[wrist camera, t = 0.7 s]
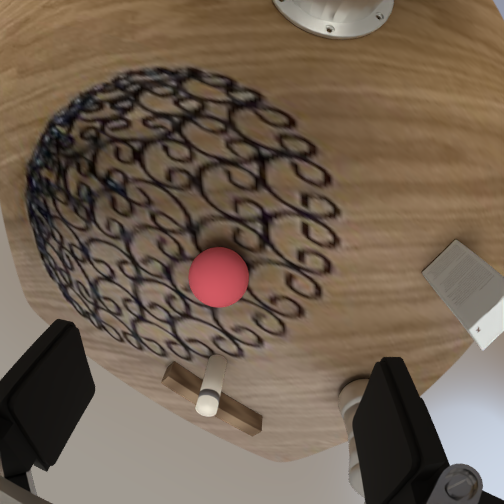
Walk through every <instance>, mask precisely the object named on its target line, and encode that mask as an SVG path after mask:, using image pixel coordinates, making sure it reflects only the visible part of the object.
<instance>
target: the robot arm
mask: <svg viewBox="0 0 504 504" xmlns="http://www.w3.org/2000/svg"><path fill="white" fill-rule="evenodd" d="M272 1H273V3H274V4H275V6H276V7H277V9H278V10H279V11H280V13H281V14H282V15H283V16H284V17H285V18H286V19H287V20H289V21H290V22H291V23H293V24H294V25H295V26H297V27H299V28H301V29H303V30H305V31H306V32H309V33H312V34H314V35H317V36H320V37H325V38H330V39H341V40H345V39H355V38H359V37H363V36H366V35H368V34H370V33H372V32H374V31H375V30H377V29H378V28H379V27H381V26H382V25H383V24H384V23H385V22H386V21H387V19H388V17H389V16H390V14H391V12H392V9H393V5H394V0H284V2H280V1H279V0H272ZM376 17H378V18H379V19H377V18H376ZM327 29H329V30H331V33H329V32H327ZM94 393H95V384H94V381H93V378H92V375H91V372H90V368H89V365H88V362H87V358H86V355H85V351H84V347H83V344H82V340H81V336H80V332H79V329H78V328H76V326H75V324H74V323H73V322H70V321H66V320H61V319H57V320H55V321H54V322H53V323H52V324H51V325H50V327H49V328H48V329H47V330H46V331H45V332H44V333H43V334H42V335H41V336H40V337H39V338H38V339H37V340H36V341H35V342H34V343H33V345H32V346H31V347H30V348H29V349H28V350H27V351H26V352H25V353H24V355H22V357H21V358H20V359H19V360H18V361H17V362H16V363H15V364H14V365H13V367H12V368H11V369H10V370H9V371H8V373H6V375H5V376H4V377H3V378H2V379H1V381H0V504H52V503H50V502H48V501H46V500H44V499H42V498H40V497H38V496H37V493H36V489H35V486H34V481H33V478H32V474H31V467H32V465H33V464H34V466H36V467H38V468H40V469H42V470H44V471H48V469H49V467H50V466H53V465H54V464H55V463H56V461H57V459H58V457H59V456H60V454H61V452H62V450H63V448H64V447H65V445H66V443H67V441H68V439H69V438H70V436H71V434H72V432H73V430H74V429H75V427H76V425H77V423H78V422H79V420H80V418H81V416H82V414H83V413H84V411H85V409H86V408H87V406H88V404H89V403H90V401H91V399H92V397H93V396H94ZM352 429H353V434H354V439H355V444H356V450H357V455H358V460H359V466H360V472H361V478H362V484H363V490H364V496H365V503H366V504H504V500H502V499H500V498H498V497H495V496H493V495H491V494H489V493H487V492H485V491H483V490H482V488H483V484H482V479H481V477H480V475H479V473H478V472H477V471H476V470H475V469H474V468H472V467H470V466H469V465H465V464H454V465H451V466H450V465H449V462H448V460H447V457H446V454H445V452H444V449H443V447H442V444H441V441H440V439H439V436H438V434H437V432H436V429H435V426H434V424H433V422H432V420H431V417H430V414H429V412H428V410H427V407H426V405H425V403H424V401H423V399H422V398H420V396H419V394H418V392H417V390H416V387H415V385H414V383H413V381H412V378H411V376H410V374H409V372H408V370H407V367H406V365H405V363H404V361H403V359H402V358H401V357H383V358H382V359H381V361H380V362H376V364H375V366H374V368H373V371H372V374H371V376H370V379H369V381H368V384H367V386H366V389H365V391H364V394H363V396H362V399H361V401H360V403H359V406H358V408H357V410H356V413H355V415H354V417H353V421H352Z"/></svg>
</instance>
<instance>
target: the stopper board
mask: <svg viewBox="0 0 504 504" xmlns="http://www.w3.org/2000/svg"><path fill="white" fill-rule="evenodd" d="M202 382H203V380H201V379H200V378H198V377H197V376H195V375H194V374H192V373H191V372H189V371H188V370H186V369H185V368H183V367H182V366H180V365H179V364H177V363H176V362H173V363H172V364H171V365H170V366H169V367H168V368H167V370H166V372H165V374H164V377H163V379H162V382H161V383H162V384H163V385H165V386H166V387H168V388H169V389H171V390H173V391H174V392H176V393H177V394H179V395H180V396H182V397H184V398H185V399H187V400H188V401H190V402H192V403H193V404H195V405H196V404H197V401H198V396H199V393H200V390H201V386H202ZM214 416H216V417H217V418H219V419H221V420H223V421H224V422H226V423H228V424H230V425H232V426H234V427H235V428H237V429H239V430H241V431H243V432H245V433H247V434H249V435H251V436H254V435H256V434H258V433H259V432H261V431H262V416H261V415H259V414H258V413H256V412H254V411H252V410H251V409H249V408H247V407H245V406H244V405H242V404H240V403H239V402H237V401H235V400H233V399H232V398H230V397H228V396H227V395H225V394H224V393H222V392H221V394H220V400H219V405H218V409H217V413H216V415H214Z"/></svg>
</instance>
